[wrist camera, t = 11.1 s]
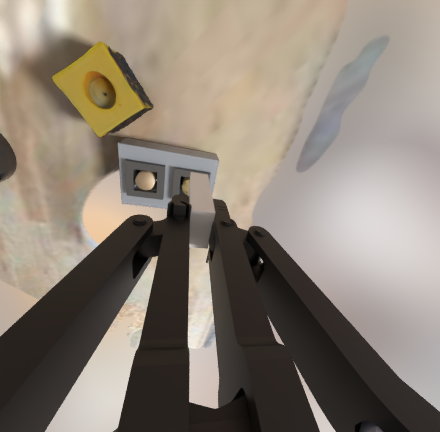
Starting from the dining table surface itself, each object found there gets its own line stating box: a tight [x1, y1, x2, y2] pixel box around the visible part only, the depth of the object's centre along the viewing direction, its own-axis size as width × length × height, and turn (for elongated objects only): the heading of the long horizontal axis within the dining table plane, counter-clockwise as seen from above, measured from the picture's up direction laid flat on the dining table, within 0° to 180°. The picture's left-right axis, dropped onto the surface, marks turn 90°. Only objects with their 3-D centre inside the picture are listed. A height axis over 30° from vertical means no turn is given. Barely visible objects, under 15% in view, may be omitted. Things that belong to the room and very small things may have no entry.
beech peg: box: [135, 170, 157, 190], centre depth 45 cm, size 4×4×7 cm
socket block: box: [118, 138, 219, 209], centre depth 46 cm, size 21×14×7 cm, turn 78°
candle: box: [52, 42, 153, 137], centre depth 35 cm, size 10×10×10 cm
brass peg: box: [182, 177, 190, 195], centre depth 47 cm, size 4×4×7 cm
